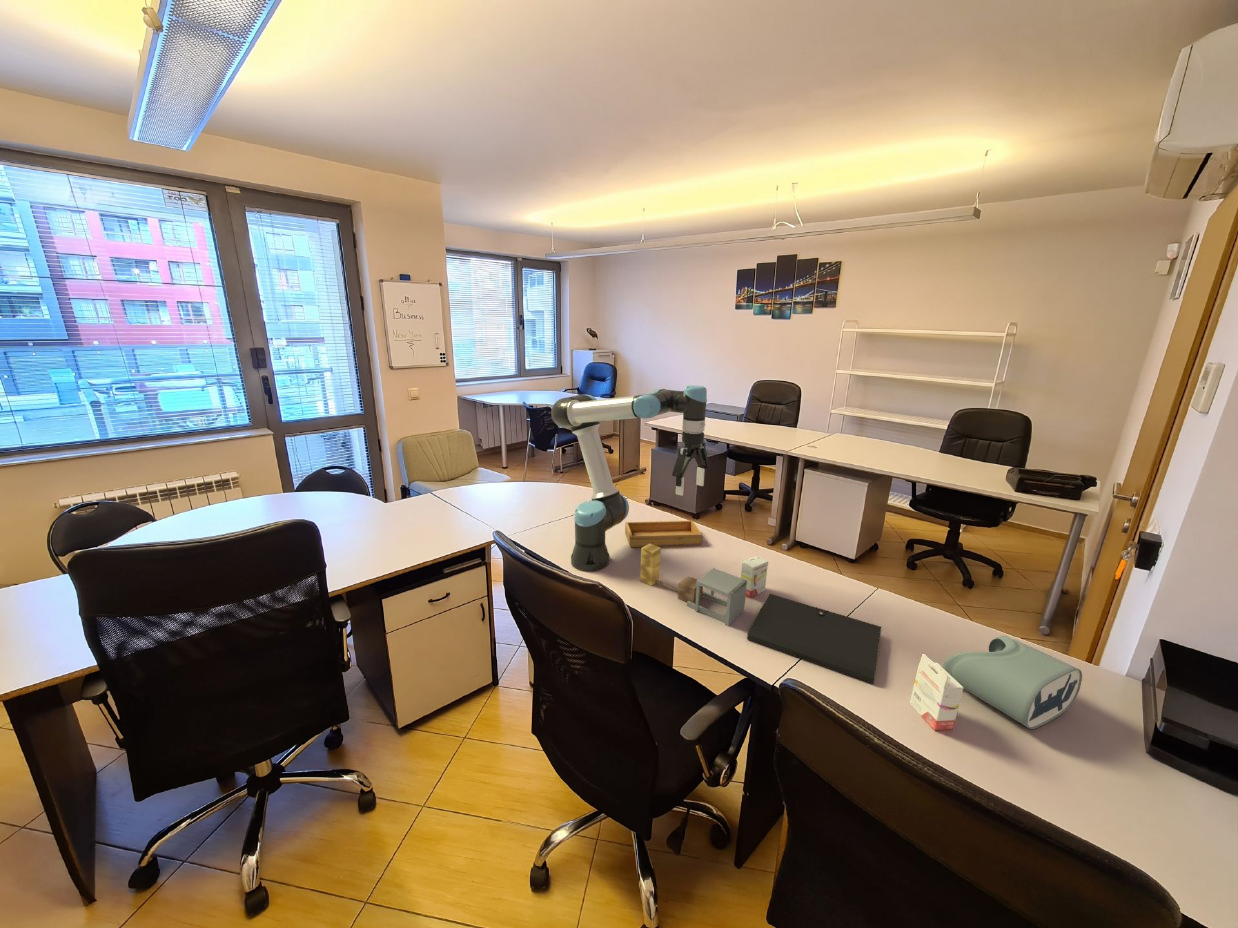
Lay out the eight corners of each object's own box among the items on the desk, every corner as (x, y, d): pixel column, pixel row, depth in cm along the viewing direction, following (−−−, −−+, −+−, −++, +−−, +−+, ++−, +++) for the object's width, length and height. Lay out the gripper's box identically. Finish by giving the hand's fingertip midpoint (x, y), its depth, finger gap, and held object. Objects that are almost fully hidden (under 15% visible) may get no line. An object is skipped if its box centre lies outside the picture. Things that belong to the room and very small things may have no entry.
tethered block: (639, 581, 167) (640, 548, 164) (649, 575, 172) (650, 543, 168) (693, 604, 154) (695, 569, 150) (702, 597, 158) (704, 563, 154)
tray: (691, 531, 211) (692, 519, 210) (701, 545, 197) (702, 533, 195) (624, 533, 207) (625, 521, 206) (629, 549, 193) (630, 536, 191)
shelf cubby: (685, 606, 153) (687, 577, 149) (702, 593, 161) (704, 564, 158) (727, 626, 143) (730, 594, 140) (744, 610, 151) (747, 580, 148)
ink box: (749, 598, 158) (753, 567, 154) (738, 592, 162) (741, 561, 158) (765, 590, 163) (769, 560, 159) (754, 584, 166) (757, 554, 163)
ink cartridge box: (954, 729, 107) (968, 676, 103) (934, 731, 106) (947, 677, 102) (927, 701, 115) (939, 651, 111) (908, 702, 114) (920, 651, 110)
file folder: (881, 625, 139) (874, 674, 119) (879, 636, 140) (872, 687, 120) (769, 592, 155) (747, 630, 136) (768, 602, 156) (746, 642, 137)
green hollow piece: (1022, 738, 105) (1034, 689, 101) (937, 684, 121) (945, 641, 118) (1074, 708, 113) (1087, 662, 110) (988, 662, 130) (996, 621, 127)
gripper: (682, 439, 148) (679, 501, 154) (720, 427, 166) (716, 483, 172) (663, 435, 153) (661, 496, 159) (702, 424, 171) (698, 479, 177)
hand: (689, 489), depth 165 cm, fingers open, 13 cm apart
